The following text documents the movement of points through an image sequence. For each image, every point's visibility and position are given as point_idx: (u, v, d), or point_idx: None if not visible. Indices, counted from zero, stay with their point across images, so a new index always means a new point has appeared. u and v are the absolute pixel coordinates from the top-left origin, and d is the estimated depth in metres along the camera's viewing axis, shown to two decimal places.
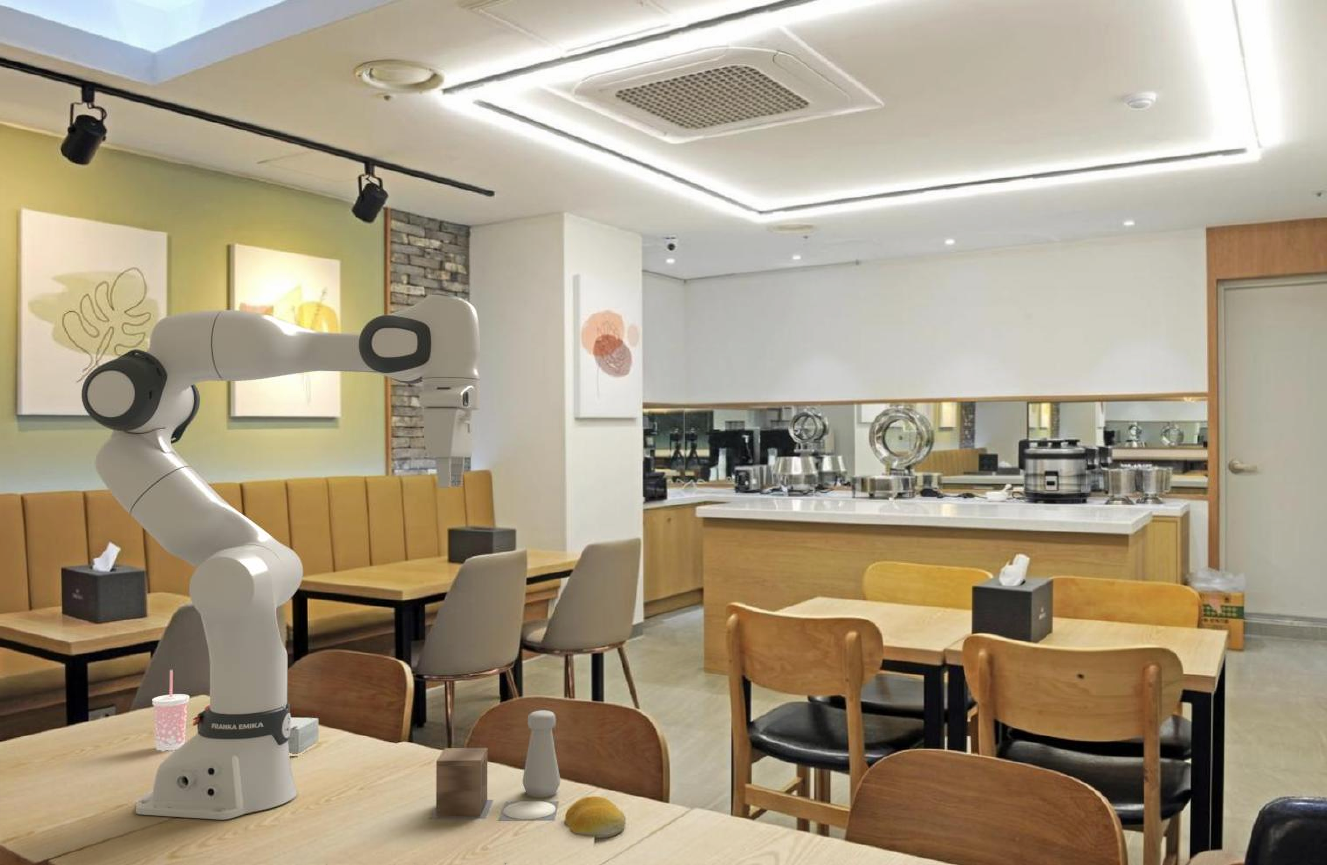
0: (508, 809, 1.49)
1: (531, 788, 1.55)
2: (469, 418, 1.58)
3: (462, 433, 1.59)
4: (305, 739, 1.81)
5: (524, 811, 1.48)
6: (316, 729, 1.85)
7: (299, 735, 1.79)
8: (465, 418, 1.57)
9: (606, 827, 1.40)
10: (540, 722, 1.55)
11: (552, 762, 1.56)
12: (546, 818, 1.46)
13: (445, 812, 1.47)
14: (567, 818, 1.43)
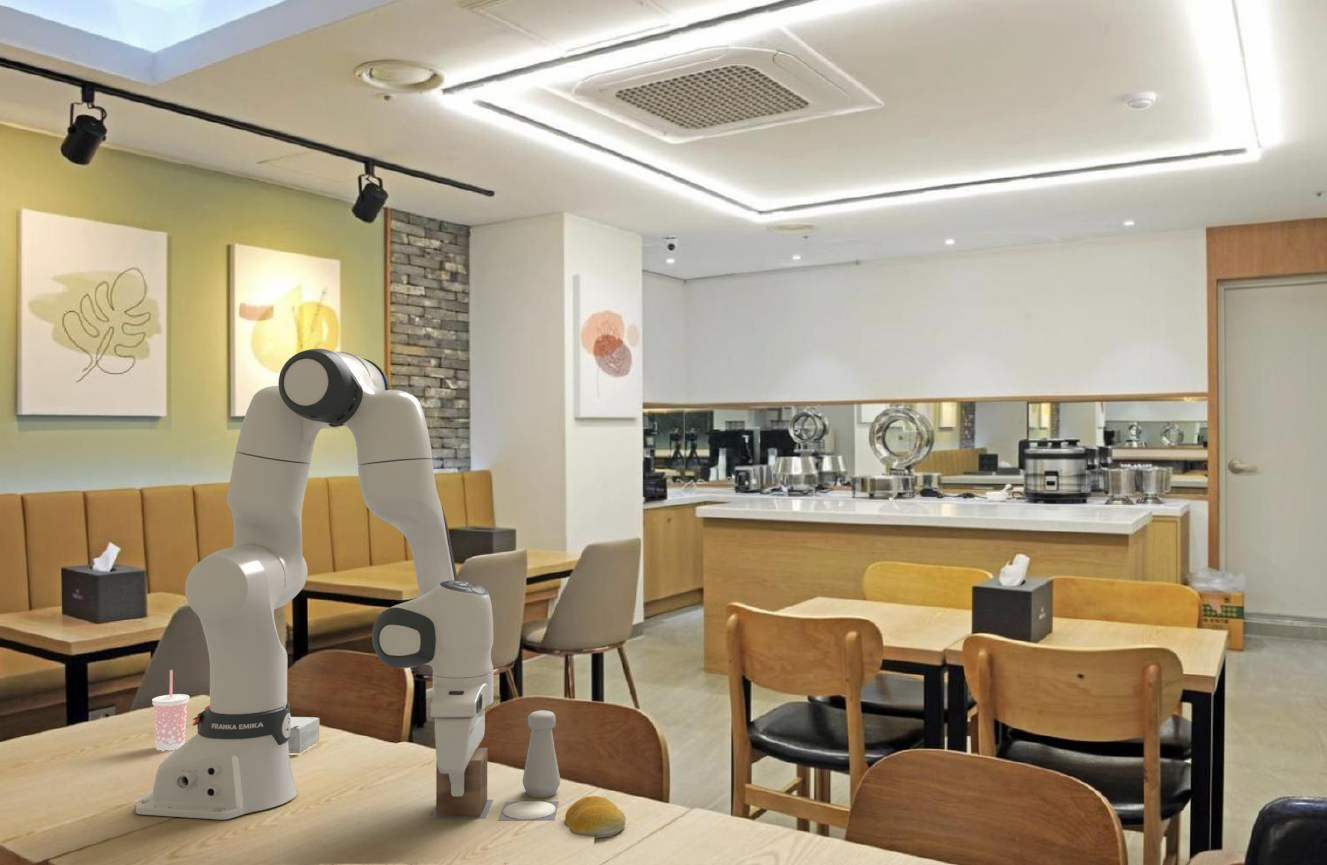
0: (508, 809, 1.49)
1: (531, 788, 1.55)
2: (482, 714, 1.50)
3: (475, 728, 1.51)
4: (306, 738, 1.82)
5: (524, 811, 1.48)
6: (317, 729, 1.86)
7: (300, 734, 1.80)
8: (478, 716, 1.49)
9: (606, 826, 1.40)
10: (540, 722, 1.55)
11: (552, 762, 1.56)
12: (546, 818, 1.46)
13: (445, 812, 1.47)
14: (567, 818, 1.43)
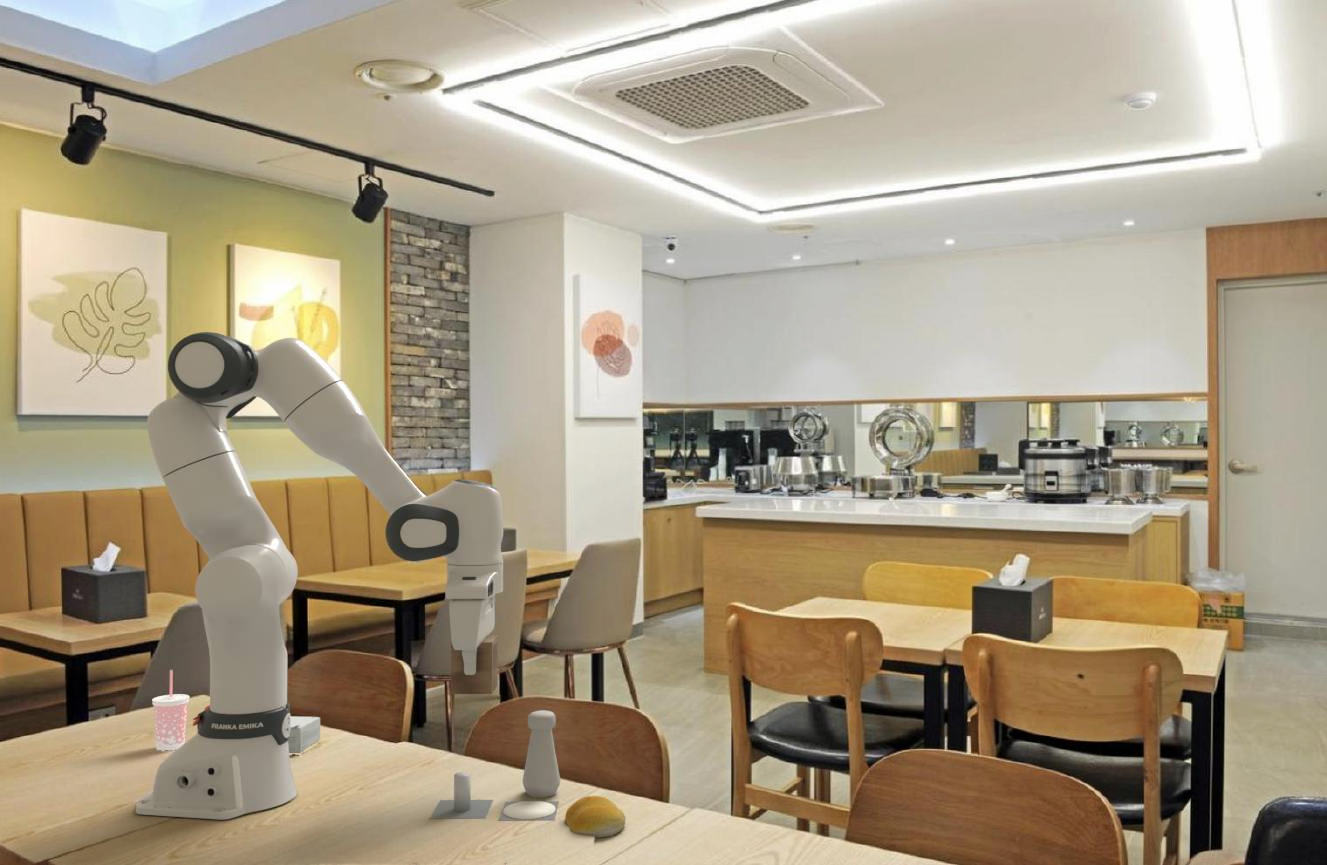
0: (508, 809, 1.49)
1: (531, 788, 1.55)
2: (493, 601, 1.61)
3: (486, 615, 1.62)
4: (307, 737, 1.82)
5: (524, 811, 1.48)
6: (318, 728, 1.86)
7: (301, 734, 1.80)
8: (489, 602, 1.60)
9: (606, 826, 1.40)
10: (540, 722, 1.55)
11: (551, 761, 1.56)
12: (546, 818, 1.46)
13: (459, 690, 1.58)
14: (568, 818, 1.44)
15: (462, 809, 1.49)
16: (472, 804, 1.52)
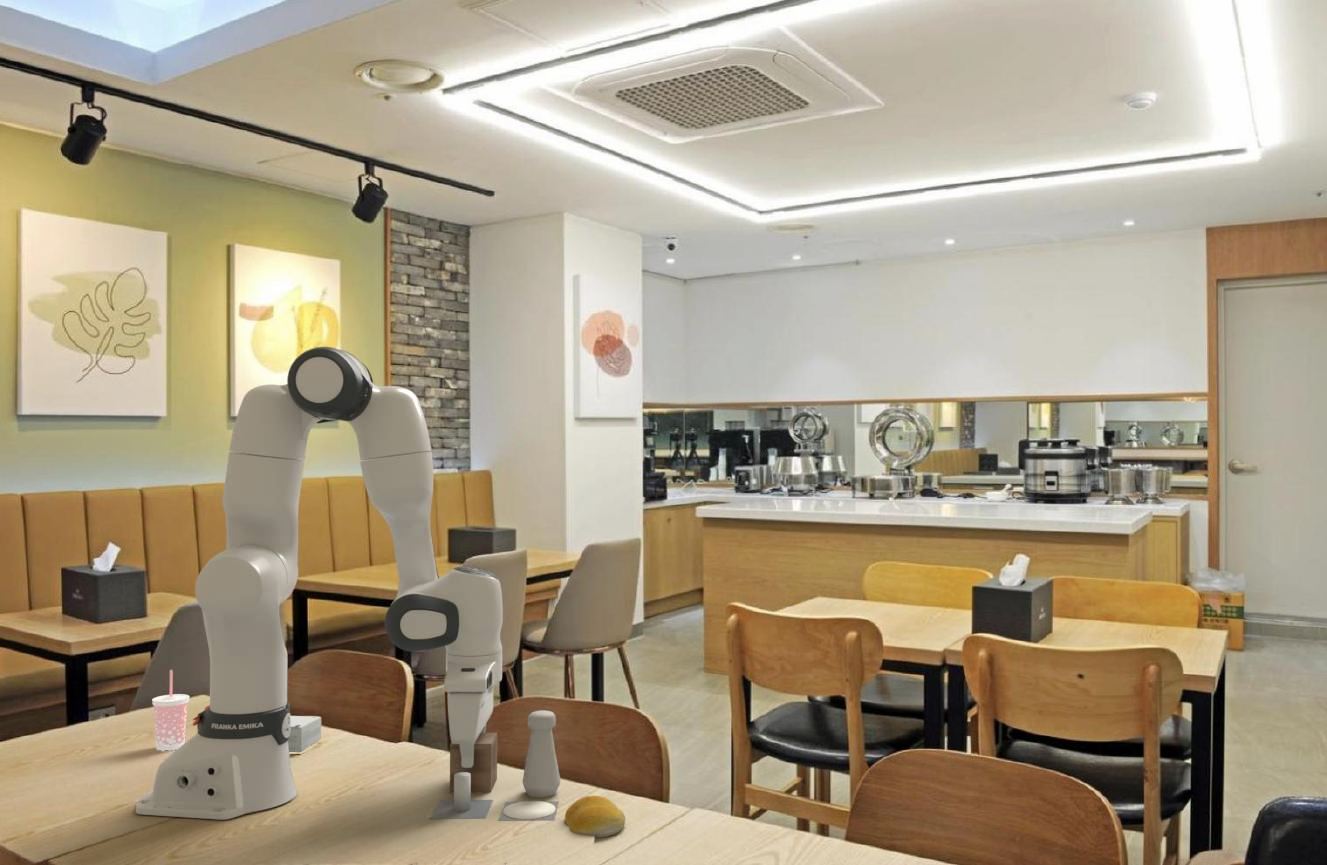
0: (508, 809, 1.49)
1: (531, 788, 1.55)
2: (492, 690, 1.61)
3: (485, 703, 1.62)
4: (308, 737, 1.82)
5: (524, 811, 1.48)
6: (319, 728, 1.86)
7: (302, 733, 1.80)
8: (488, 692, 1.60)
9: (606, 826, 1.40)
10: (540, 722, 1.55)
11: (552, 762, 1.56)
12: (546, 818, 1.46)
13: None
14: (567, 818, 1.44)
15: (462, 809, 1.49)
16: (472, 804, 1.52)
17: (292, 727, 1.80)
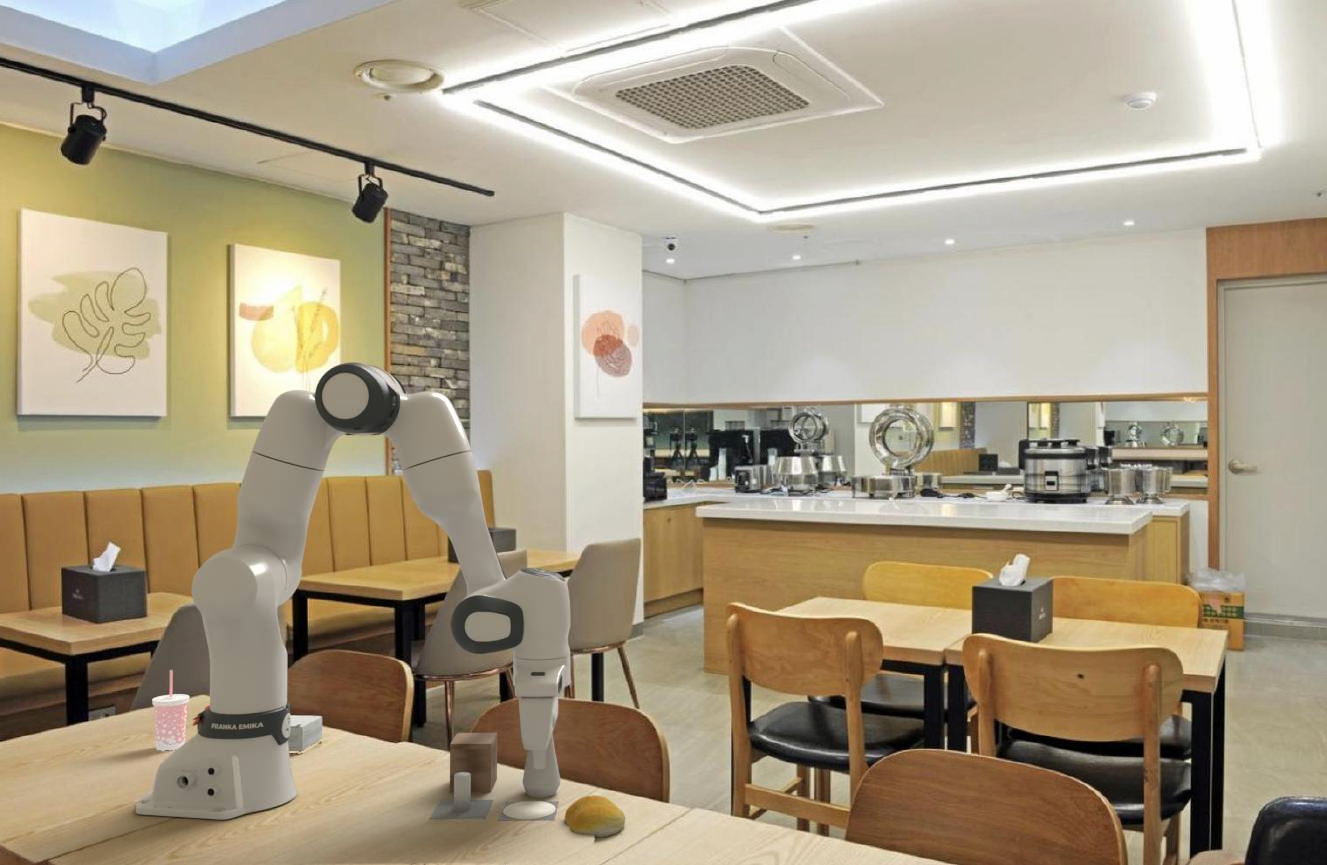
0: (508, 809, 1.49)
1: (531, 788, 1.55)
2: (560, 694, 1.57)
3: (553, 708, 1.58)
4: (309, 736, 1.83)
5: (524, 811, 1.48)
6: (320, 727, 1.87)
7: (303, 733, 1.81)
8: (557, 696, 1.56)
9: (606, 826, 1.40)
10: None
11: (552, 762, 1.56)
12: (546, 818, 1.46)
13: None
14: (567, 817, 1.44)
15: (462, 809, 1.49)
16: (472, 804, 1.52)
17: (293, 726, 1.81)
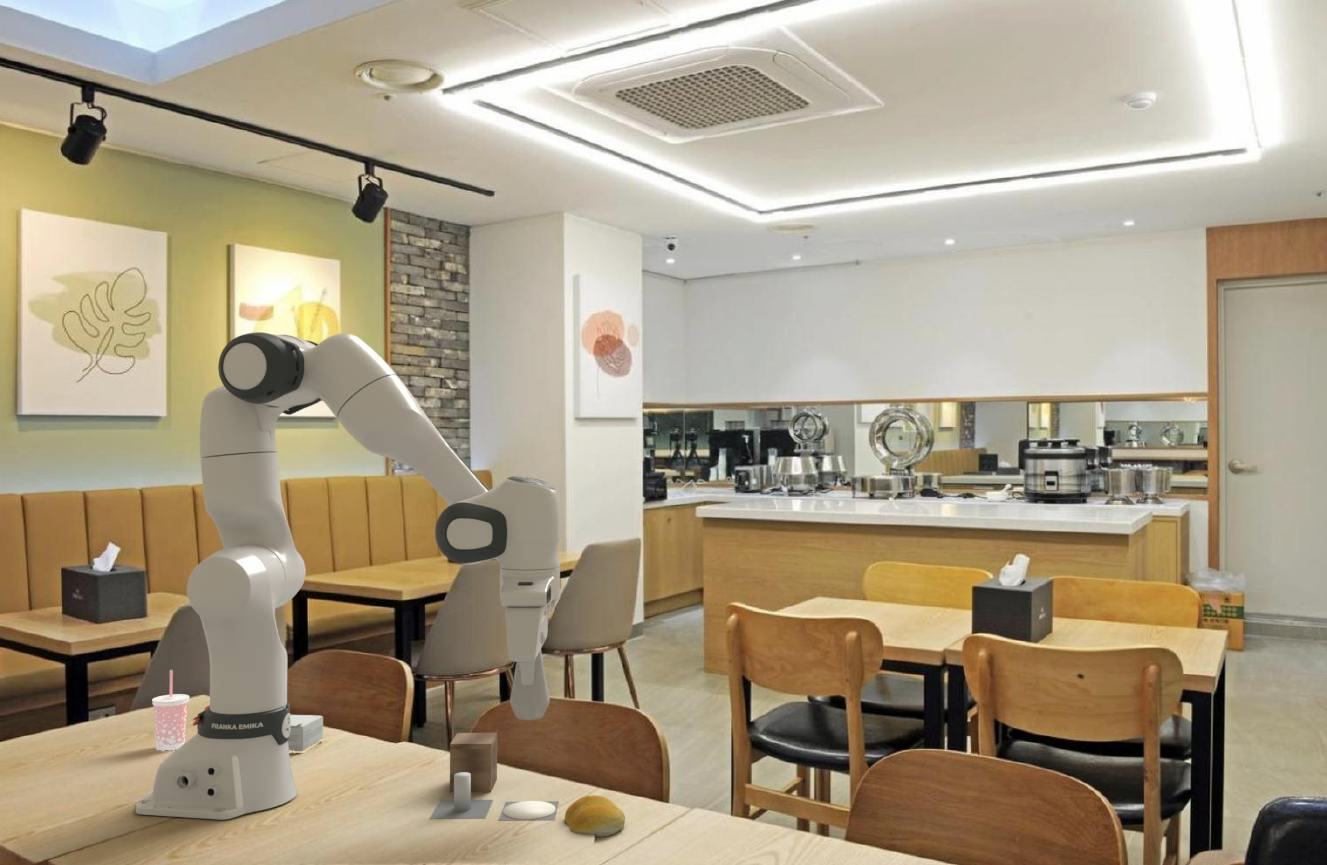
0: (508, 809, 1.49)
1: (519, 706, 1.47)
2: (549, 608, 1.49)
3: (542, 623, 1.50)
4: (310, 736, 1.83)
5: (524, 811, 1.48)
6: (320, 727, 1.87)
7: (304, 732, 1.81)
8: (546, 610, 1.48)
9: (606, 825, 1.40)
10: None
11: (540, 679, 1.48)
12: (546, 818, 1.46)
13: None
14: (567, 817, 1.44)
15: (462, 809, 1.49)
16: (472, 804, 1.52)
17: (294, 726, 1.81)
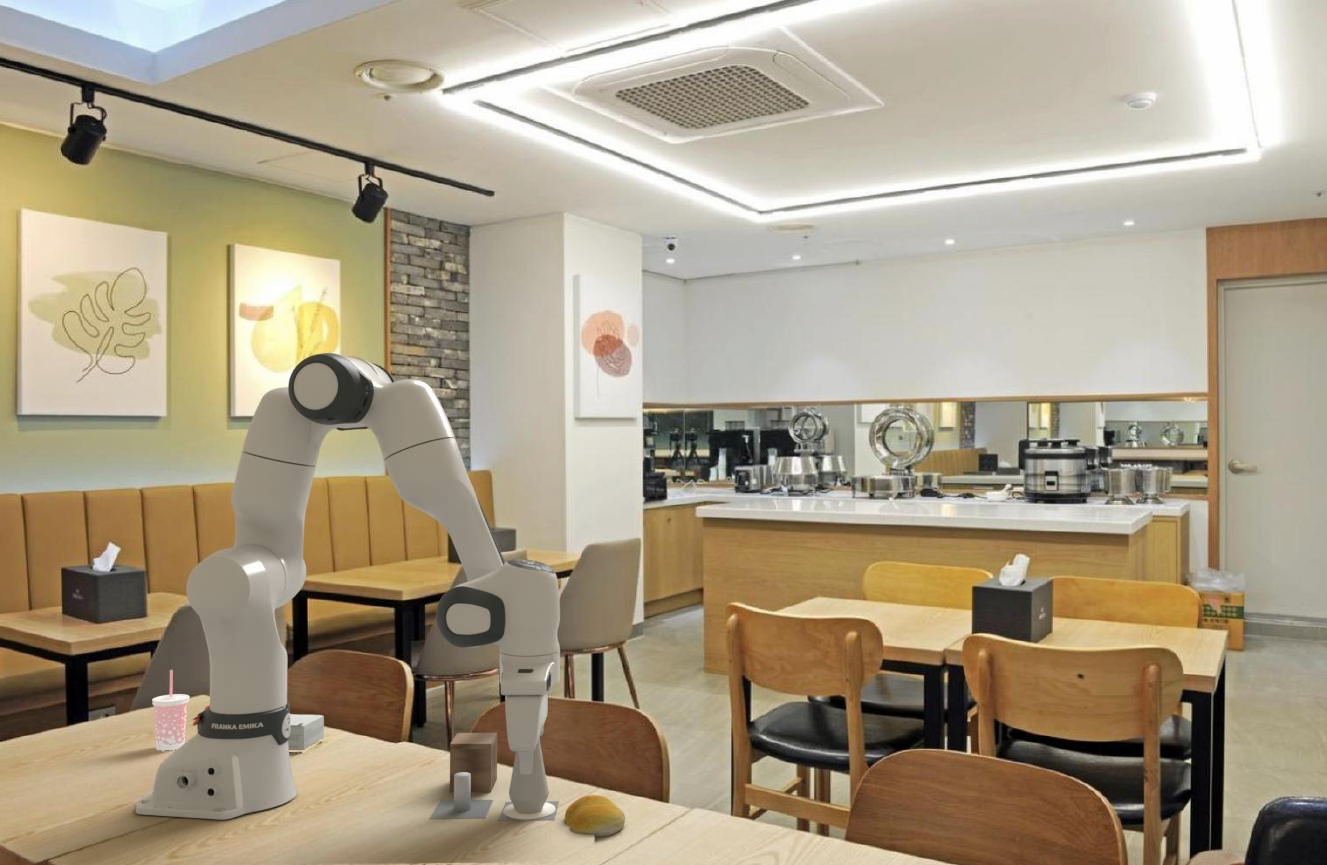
0: (508, 809, 1.49)
1: (518, 800, 1.47)
2: (549, 693, 1.49)
3: (541, 707, 1.50)
4: (310, 735, 1.83)
5: None
6: (321, 726, 1.87)
7: (305, 732, 1.81)
8: (546, 694, 1.48)
9: (606, 825, 1.40)
10: None
11: (539, 772, 1.48)
12: (546, 818, 1.46)
13: None
14: (567, 817, 1.44)
15: (462, 809, 1.49)
16: (472, 804, 1.52)
17: (295, 725, 1.81)
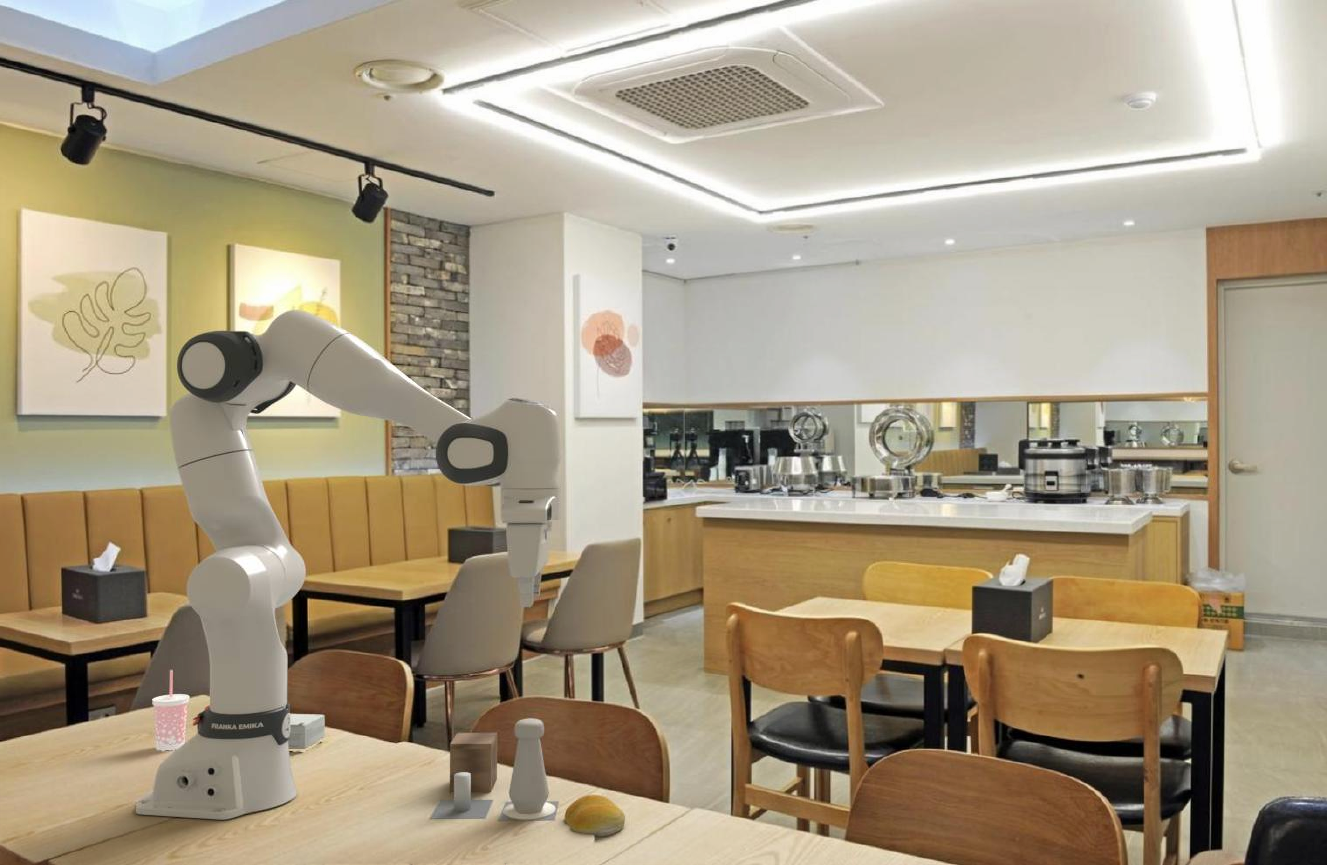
0: (508, 809, 1.49)
1: (518, 800, 1.47)
2: (550, 529, 1.50)
3: (542, 544, 1.51)
4: (311, 735, 1.84)
5: None
6: (322, 726, 1.88)
7: (306, 731, 1.82)
8: (546, 530, 1.49)
9: (606, 825, 1.41)
10: (527, 731, 1.47)
11: (539, 773, 1.48)
12: (546, 818, 1.46)
13: None
14: (567, 817, 1.44)
15: (462, 809, 1.49)
16: (472, 804, 1.52)
17: (296, 725, 1.82)
